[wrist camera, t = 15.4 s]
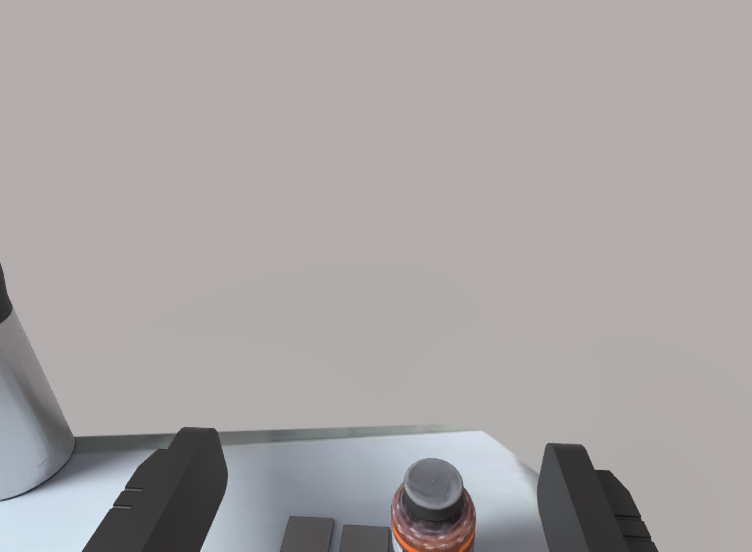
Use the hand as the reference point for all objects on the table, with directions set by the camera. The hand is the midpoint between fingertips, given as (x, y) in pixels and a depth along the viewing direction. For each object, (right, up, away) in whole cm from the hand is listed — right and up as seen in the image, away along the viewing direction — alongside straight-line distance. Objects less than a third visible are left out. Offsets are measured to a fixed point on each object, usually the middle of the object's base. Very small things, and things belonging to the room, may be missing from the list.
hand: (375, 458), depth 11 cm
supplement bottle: (+4, -20, +24) cm, 31 cm away
